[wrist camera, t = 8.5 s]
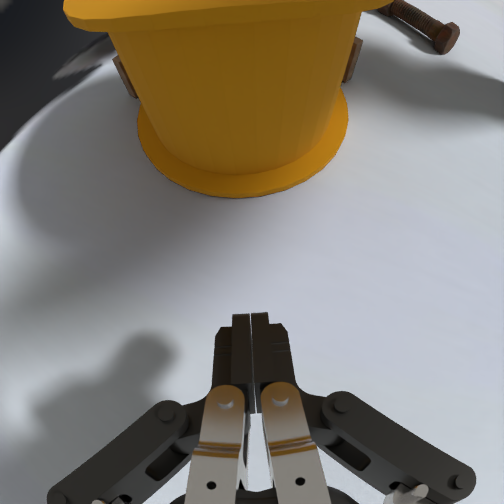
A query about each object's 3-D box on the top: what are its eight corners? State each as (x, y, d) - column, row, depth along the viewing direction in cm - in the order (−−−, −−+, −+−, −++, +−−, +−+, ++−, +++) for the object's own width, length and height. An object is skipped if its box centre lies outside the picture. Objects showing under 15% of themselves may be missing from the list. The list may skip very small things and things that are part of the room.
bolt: (362, 7, 31) (444, 59, 27) (349, -1, 28) (440, 53, 24) (377, -18, 26) (462, 32, 23) (365, -29, 23) (459, 23, 20)
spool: (375, 96, 23) (428, -32, 9) (270, 247, 20) (293, 66, 5) (225, 31, 26) (212, -80, 11) (103, 137, 23) (19, 16, 8)
